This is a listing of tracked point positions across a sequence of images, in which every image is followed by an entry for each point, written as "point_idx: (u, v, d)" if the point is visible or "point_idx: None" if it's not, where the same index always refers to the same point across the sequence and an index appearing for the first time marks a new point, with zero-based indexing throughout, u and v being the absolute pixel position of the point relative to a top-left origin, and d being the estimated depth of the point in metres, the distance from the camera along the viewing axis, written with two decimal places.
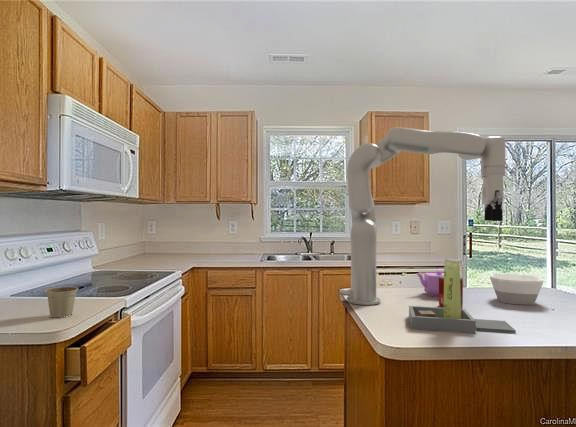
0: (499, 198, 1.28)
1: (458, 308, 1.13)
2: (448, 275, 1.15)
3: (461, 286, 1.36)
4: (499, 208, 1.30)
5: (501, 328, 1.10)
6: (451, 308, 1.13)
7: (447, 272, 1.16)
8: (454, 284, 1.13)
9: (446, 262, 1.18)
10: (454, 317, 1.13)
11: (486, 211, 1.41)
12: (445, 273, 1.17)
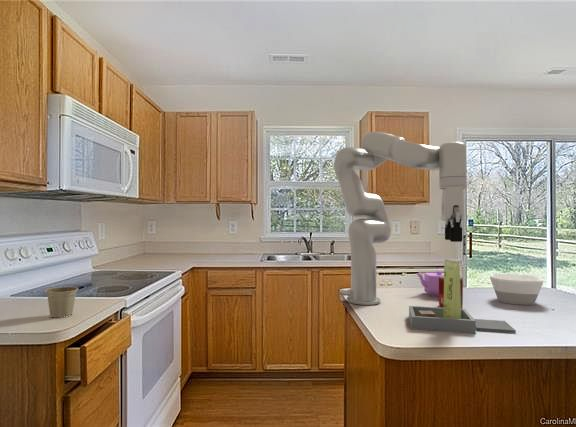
0: (457, 215, 1.08)
1: (458, 308, 1.13)
2: (448, 275, 1.15)
3: (461, 286, 1.36)
4: (458, 226, 1.10)
5: (501, 328, 1.10)
6: (451, 308, 1.13)
7: (447, 272, 1.16)
8: (454, 284, 1.13)
9: (446, 262, 1.18)
10: (454, 317, 1.13)
11: (446, 229, 1.20)
12: (445, 273, 1.17)
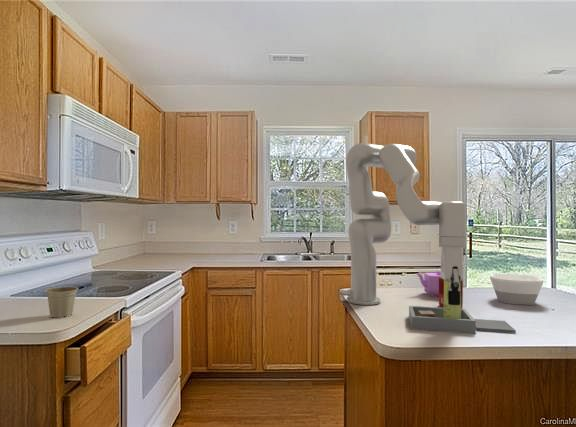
0: (455, 283, 1.09)
1: (458, 308, 1.13)
2: None
3: (461, 286, 1.36)
4: (456, 291, 1.11)
5: (501, 328, 1.10)
6: (451, 308, 1.13)
7: None
8: None
9: None
10: (454, 317, 1.13)
11: None
12: None
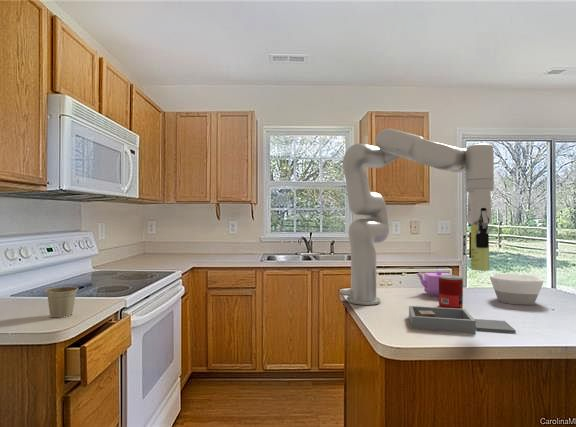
0: (484, 223, 1.08)
1: (487, 251, 1.12)
2: None
3: (461, 286, 1.36)
4: (484, 233, 1.10)
5: (501, 328, 1.10)
6: (479, 251, 1.12)
7: None
8: None
9: None
10: (482, 260, 1.12)
11: None
12: None
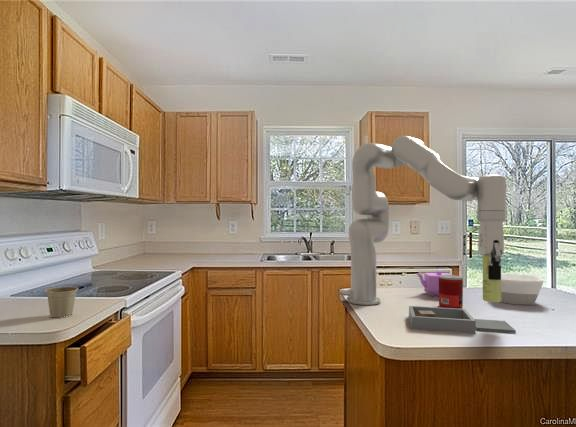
0: (497, 256, 1.07)
1: (499, 283, 1.12)
2: None
3: (461, 286, 1.36)
4: (497, 265, 1.10)
5: (501, 328, 1.10)
6: (491, 283, 1.12)
7: None
8: None
9: None
10: (494, 292, 1.11)
11: None
12: None
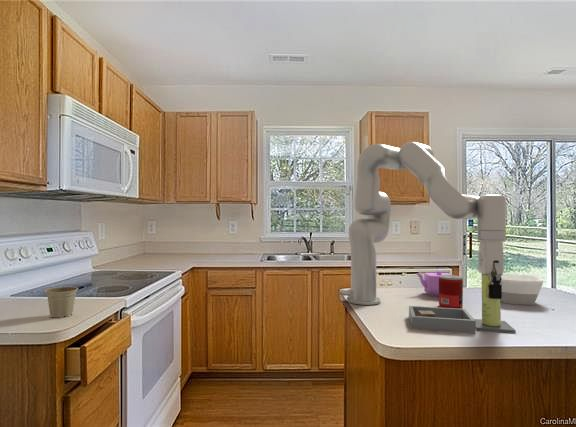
0: (498, 275, 1.06)
1: (498, 307, 1.11)
2: None
3: (461, 286, 1.36)
4: (498, 284, 1.09)
5: (501, 328, 1.10)
6: (491, 307, 1.12)
7: None
8: None
9: None
10: (494, 316, 1.11)
11: None
12: None
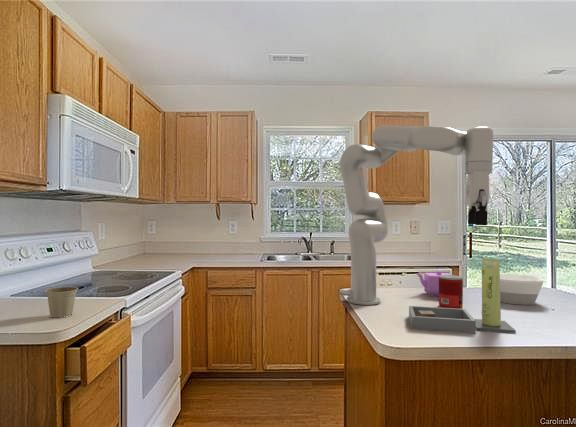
0: (483, 199, 1.09)
1: (498, 307, 1.11)
2: (487, 274, 1.13)
3: (461, 286, 1.36)
4: (483, 210, 1.12)
5: (501, 328, 1.10)
6: (491, 307, 1.12)
7: (485, 270, 1.14)
8: (494, 282, 1.11)
9: (484, 260, 1.16)
10: (494, 316, 1.11)
11: (470, 213, 1.22)
12: (483, 271, 1.15)
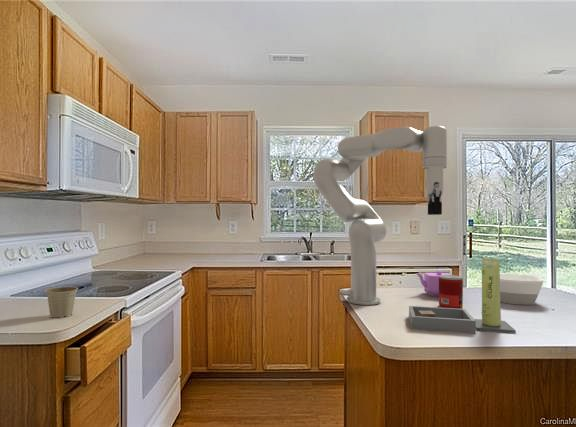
0: (437, 190, 1.21)
1: (498, 307, 1.11)
2: (487, 274, 1.13)
3: (461, 286, 1.36)
4: (438, 201, 1.23)
5: (501, 328, 1.10)
6: (491, 307, 1.12)
7: (486, 270, 1.14)
8: (494, 282, 1.11)
9: (484, 260, 1.16)
10: (494, 316, 1.11)
11: (429, 205, 1.34)
12: (483, 271, 1.15)
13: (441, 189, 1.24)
